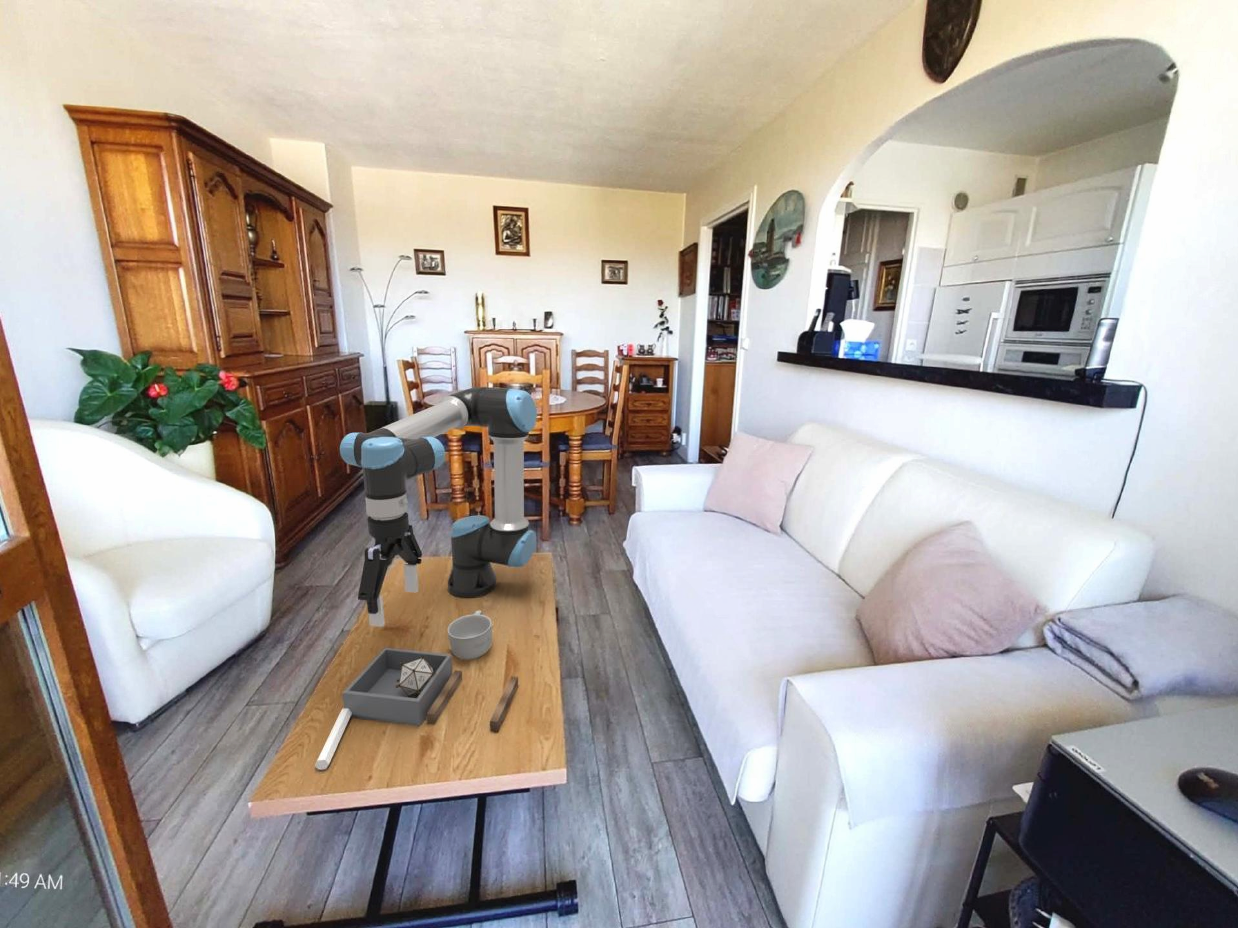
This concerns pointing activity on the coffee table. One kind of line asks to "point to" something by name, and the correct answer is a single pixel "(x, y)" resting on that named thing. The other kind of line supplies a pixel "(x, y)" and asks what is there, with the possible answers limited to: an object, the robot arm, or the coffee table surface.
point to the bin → (386, 703)
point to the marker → (333, 739)
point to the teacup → (470, 635)
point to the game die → (415, 676)
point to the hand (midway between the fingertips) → (395, 607)
